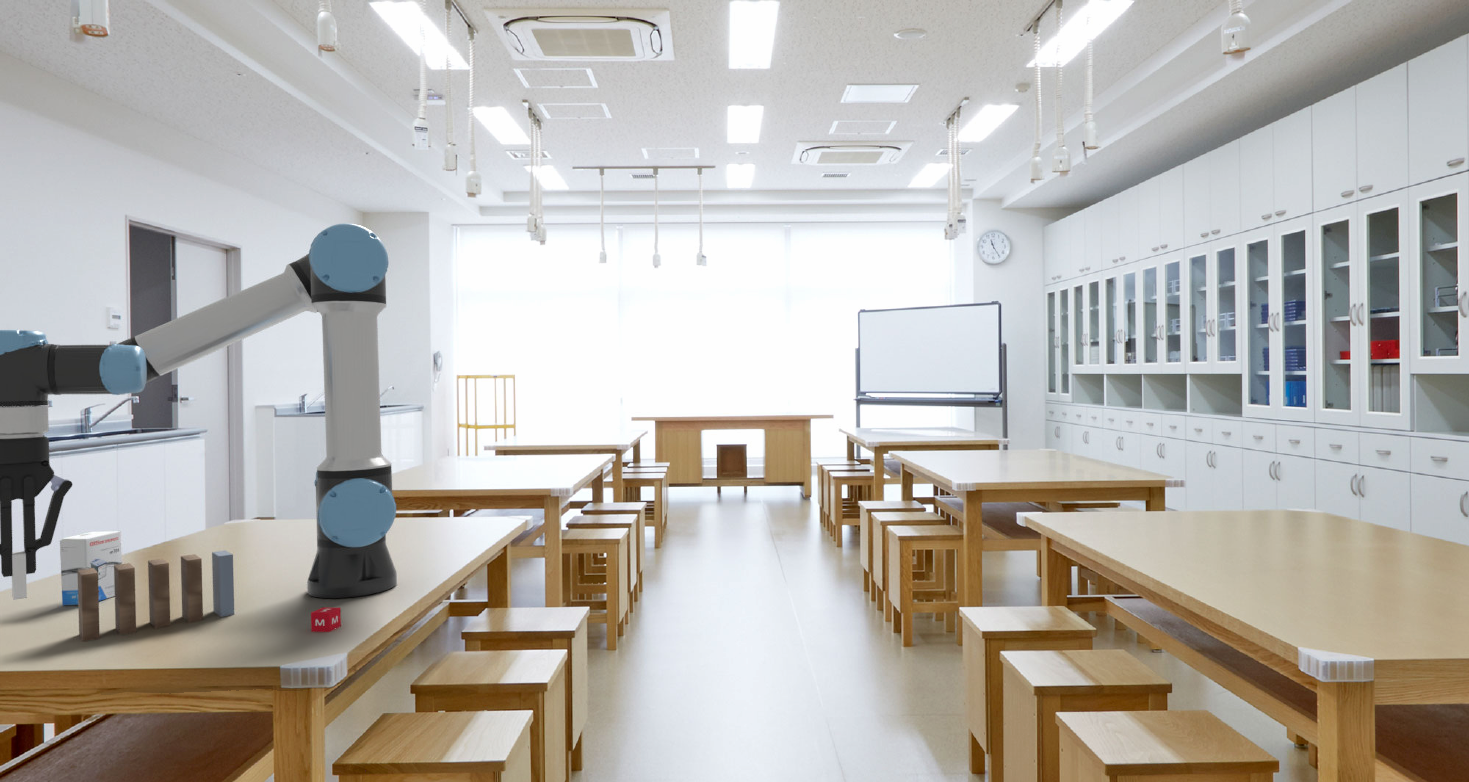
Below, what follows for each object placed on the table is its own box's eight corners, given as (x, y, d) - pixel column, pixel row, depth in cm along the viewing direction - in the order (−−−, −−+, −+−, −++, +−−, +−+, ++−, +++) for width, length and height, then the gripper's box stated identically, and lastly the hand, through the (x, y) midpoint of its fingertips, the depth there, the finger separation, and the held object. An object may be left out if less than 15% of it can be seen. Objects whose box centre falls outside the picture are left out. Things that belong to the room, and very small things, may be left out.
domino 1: (131, 625, 133) (129, 563, 133) (136, 631, 130) (134, 567, 130) (115, 628, 132) (113, 565, 132) (120, 634, 128) (118, 569, 128)
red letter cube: (329, 632, 128) (329, 612, 128) (311, 631, 128) (310, 612, 128) (341, 626, 131) (340, 607, 131) (323, 626, 131) (322, 607, 131)
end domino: (95, 631, 130) (93, 567, 130) (99, 638, 127) (98, 572, 127) (79, 634, 129) (77, 569, 129) (83, 641, 125) (81, 574, 125)
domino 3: (196, 613, 140) (194, 554, 140) (203, 619, 136) (201, 558, 136) (182, 616, 138) (180, 556, 138) (188, 622, 135) (187, 560, 135)
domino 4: (227, 608, 143) (225, 550, 143) (234, 614, 139) (232, 554, 139) (213, 611, 141) (212, 552, 141) (220, 616, 138) (219, 556, 138)
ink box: (87, 605, 146) (85, 538, 146) (59, 606, 146) (57, 539, 146) (124, 593, 155) (123, 530, 155) (98, 593, 155) (96, 530, 155)
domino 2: (164, 619, 137) (162, 558, 136) (170, 625, 133) (168, 563, 133) (149, 622, 135) (148, 560, 135) (155, 628, 132) (153, 565, 131)
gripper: (69, 433, 129) (73, 585, 130) (-46, 437, 120) (-42, 601, 121) (75, 434, 124) (78, 593, 124) (-46, 439, 115) (-41, 610, 115)
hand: (19, 597), depth 122 cm, fingers closed
